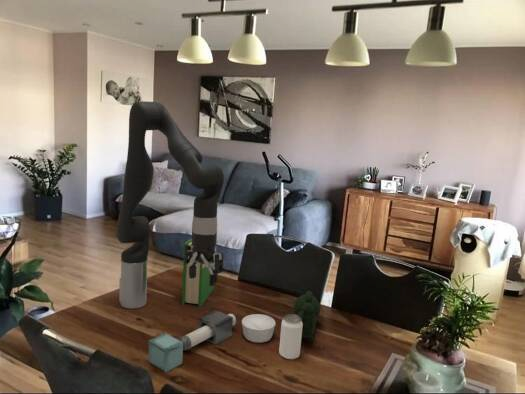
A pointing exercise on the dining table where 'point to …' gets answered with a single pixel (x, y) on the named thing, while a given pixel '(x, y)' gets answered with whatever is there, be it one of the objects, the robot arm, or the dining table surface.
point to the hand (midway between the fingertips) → (202, 281)
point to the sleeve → (217, 325)
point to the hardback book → (196, 283)
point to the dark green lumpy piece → (307, 314)
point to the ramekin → (258, 327)
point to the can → (290, 336)
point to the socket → (165, 352)
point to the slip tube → (199, 335)
